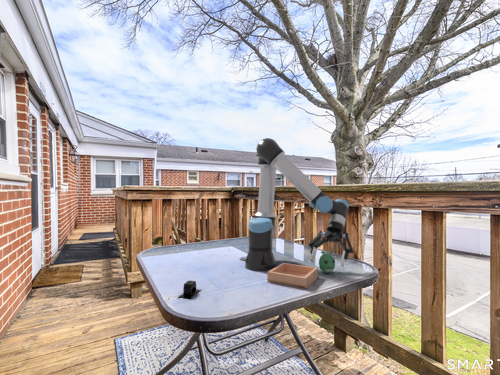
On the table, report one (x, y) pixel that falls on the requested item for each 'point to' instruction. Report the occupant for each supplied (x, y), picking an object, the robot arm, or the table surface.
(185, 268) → the table surface
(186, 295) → the black box
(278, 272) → the planter tray
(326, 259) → the alien toy
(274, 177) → the robot arm
